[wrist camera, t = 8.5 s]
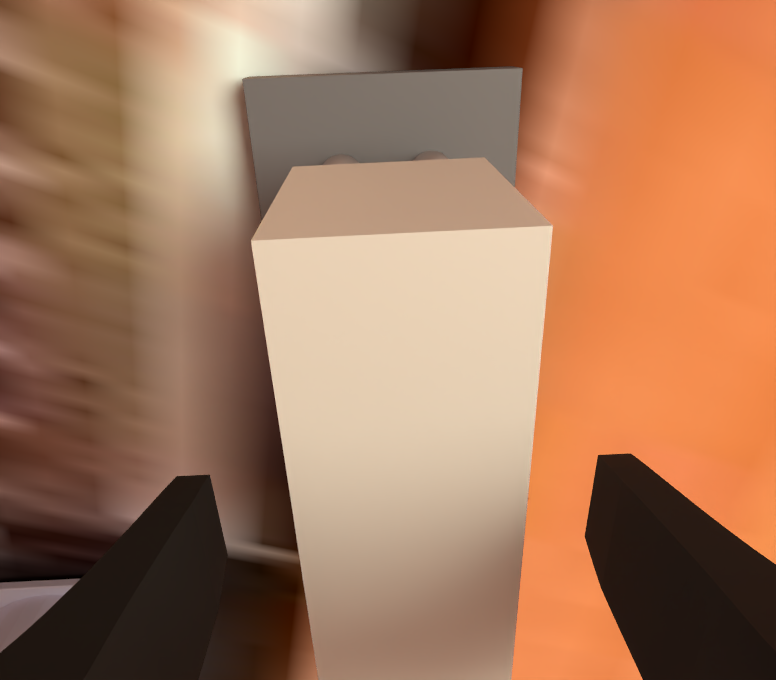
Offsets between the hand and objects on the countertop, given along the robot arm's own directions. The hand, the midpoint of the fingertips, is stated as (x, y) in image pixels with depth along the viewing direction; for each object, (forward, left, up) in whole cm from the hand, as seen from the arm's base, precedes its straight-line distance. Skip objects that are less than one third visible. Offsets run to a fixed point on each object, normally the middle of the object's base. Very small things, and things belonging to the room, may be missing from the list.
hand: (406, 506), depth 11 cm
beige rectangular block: (0, 0, -4) cm, 4 cm away
